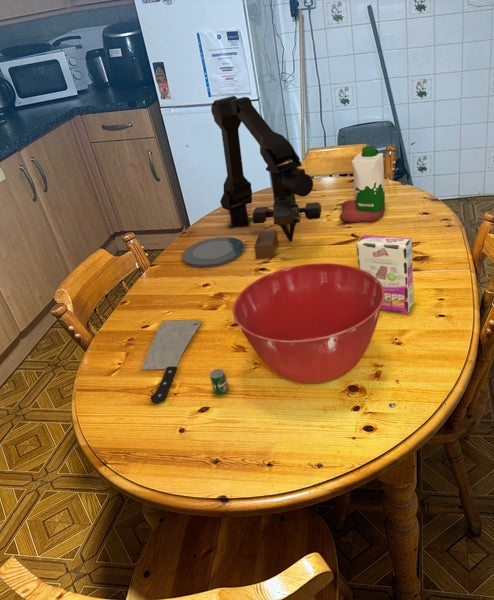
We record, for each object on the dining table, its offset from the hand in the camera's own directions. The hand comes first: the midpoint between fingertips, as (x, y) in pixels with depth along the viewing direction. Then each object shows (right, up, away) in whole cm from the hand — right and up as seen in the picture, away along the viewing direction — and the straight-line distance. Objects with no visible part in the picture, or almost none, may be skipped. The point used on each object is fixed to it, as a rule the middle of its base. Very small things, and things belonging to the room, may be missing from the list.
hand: (290, 240), depth 157 cm
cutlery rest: (-7, -2, +2) cm, 7 cm away
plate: (-23, -3, +5) cm, 23 cm away
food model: (+22, +12, +17) cm, 30 cm away
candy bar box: (+23, -18, -30) cm, 42 cm away
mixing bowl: (+6, -29, -45) cm, 54 cm away
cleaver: (-26, -29, -38) cm, 55 cm away
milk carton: (+25, +10, +17) cm, 32 cm away
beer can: (-12, -35, -50) cm, 62 cm away
